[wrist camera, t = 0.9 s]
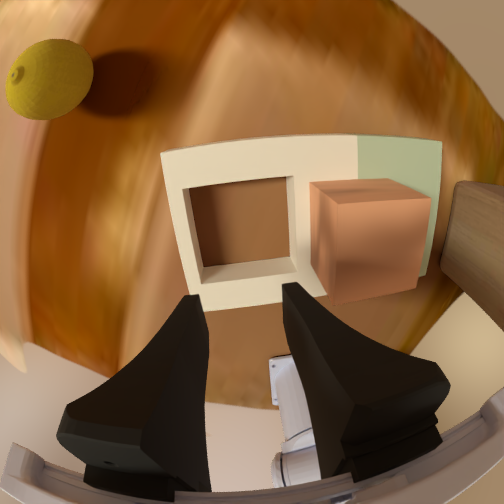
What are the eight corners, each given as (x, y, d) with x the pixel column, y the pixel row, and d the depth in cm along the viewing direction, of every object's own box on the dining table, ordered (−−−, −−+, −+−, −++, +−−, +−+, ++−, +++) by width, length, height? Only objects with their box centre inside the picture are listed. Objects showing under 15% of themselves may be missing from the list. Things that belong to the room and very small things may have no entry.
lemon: (97, 38, 13) (40, 9, 5) (120, 91, 15) (61, 77, 8) (45, 80, 13) (-21, 76, 6) (65, 132, 16) (-4, 145, 8)
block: (381, 253, 20) (415, 288, 15) (310, 264, 19) (333, 305, 15) (388, 178, 17) (431, 198, 12) (309, 182, 17) (338, 204, 12)
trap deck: (411, 262, 23) (425, 275, 21) (197, 294, 23) (194, 312, 20) (423, 138, 18) (442, 141, 16) (168, 149, 17) (160, 153, 15)
